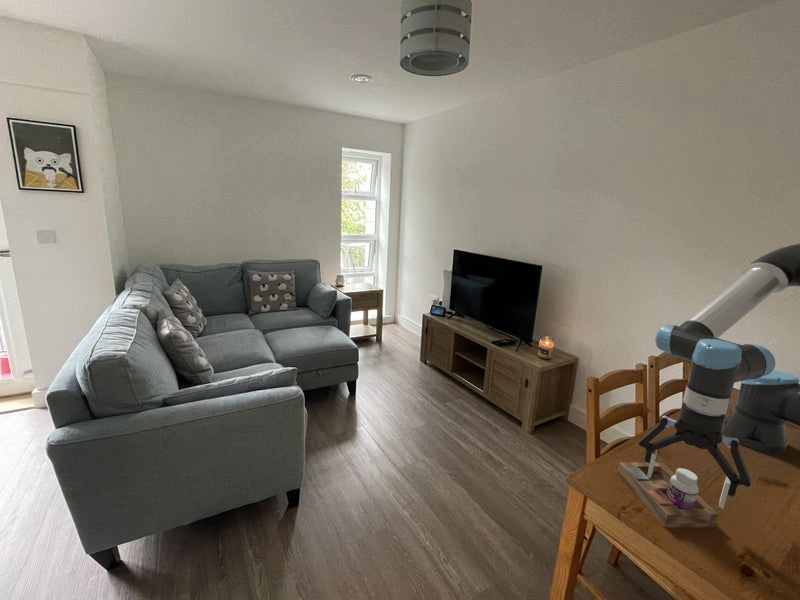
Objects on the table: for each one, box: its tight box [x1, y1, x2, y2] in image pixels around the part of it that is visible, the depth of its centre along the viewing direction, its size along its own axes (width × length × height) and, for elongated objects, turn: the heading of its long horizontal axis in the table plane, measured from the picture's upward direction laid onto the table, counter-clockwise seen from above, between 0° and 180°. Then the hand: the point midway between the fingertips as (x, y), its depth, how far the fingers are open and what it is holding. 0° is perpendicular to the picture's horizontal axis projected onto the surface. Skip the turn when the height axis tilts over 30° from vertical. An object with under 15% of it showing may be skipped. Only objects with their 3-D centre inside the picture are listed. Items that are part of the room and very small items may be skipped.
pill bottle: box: [666, 467, 700, 509], centre depth 86 cm, size 5×5×10 cm
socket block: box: [616, 461, 719, 528], centre depth 91 cm, size 12×18×4 cm
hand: (683, 489), depth 86 cm, fingers open, 13 cm apart
